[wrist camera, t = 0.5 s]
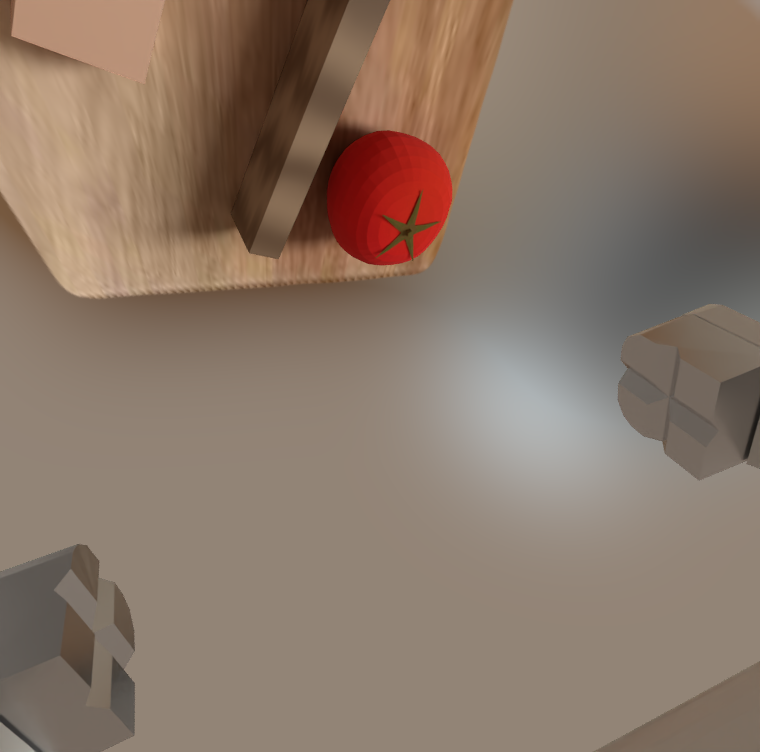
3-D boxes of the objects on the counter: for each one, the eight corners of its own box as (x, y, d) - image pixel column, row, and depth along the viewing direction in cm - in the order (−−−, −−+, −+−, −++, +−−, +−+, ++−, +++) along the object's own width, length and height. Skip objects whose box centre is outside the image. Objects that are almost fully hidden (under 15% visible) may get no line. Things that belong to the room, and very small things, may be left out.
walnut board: (361, -149, 41) (402, -134, 37) (393, -124, 43) (436, -108, 38) (230, 213, 57) (249, 253, 52) (258, 220, 58) (278, 259, 54)
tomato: (299, 224, 61) (336, 285, 54) (334, 100, 53) (382, 154, 46) (392, 234, 67) (435, 290, 60) (436, 124, 59) (491, 174, 52)
